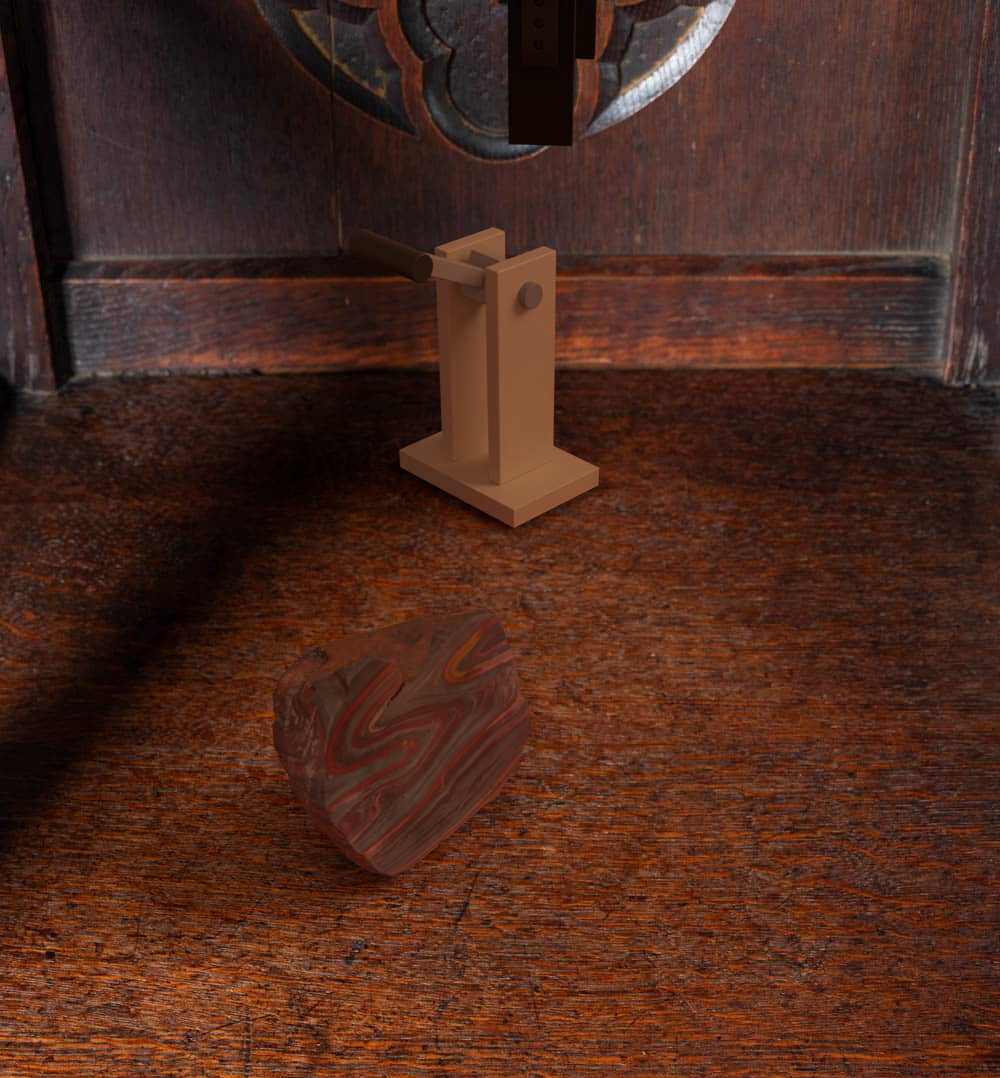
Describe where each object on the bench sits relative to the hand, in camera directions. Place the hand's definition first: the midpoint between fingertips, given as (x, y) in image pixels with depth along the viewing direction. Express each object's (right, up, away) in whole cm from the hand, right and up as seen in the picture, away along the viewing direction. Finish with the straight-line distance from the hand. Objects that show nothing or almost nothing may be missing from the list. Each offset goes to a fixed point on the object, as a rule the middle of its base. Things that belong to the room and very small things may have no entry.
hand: (555, 97), depth 67 cm
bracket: (-3, -14, +20) cm, 24 cm away
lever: (-6, -6, +10) cm, 13 cm away
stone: (-8, -33, -3) cm, 34 cm away
